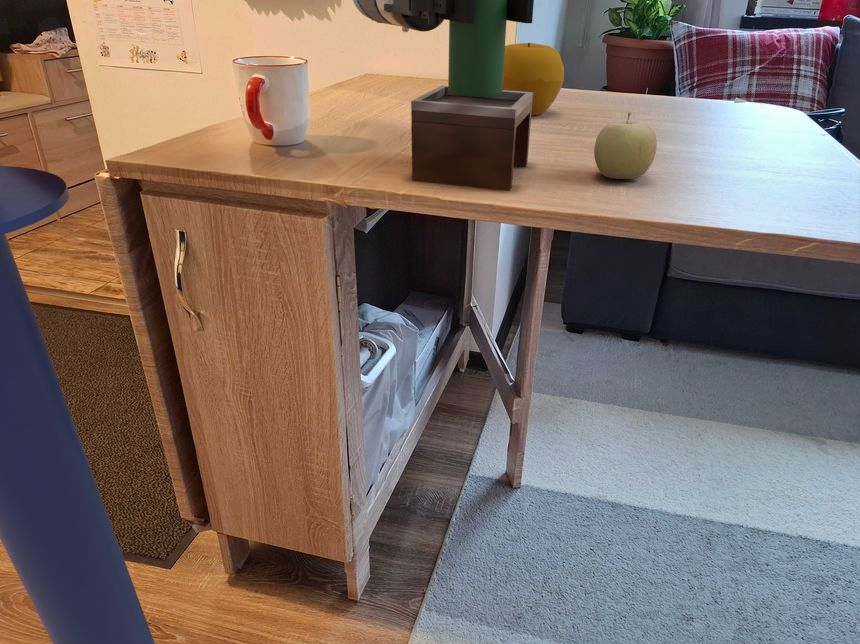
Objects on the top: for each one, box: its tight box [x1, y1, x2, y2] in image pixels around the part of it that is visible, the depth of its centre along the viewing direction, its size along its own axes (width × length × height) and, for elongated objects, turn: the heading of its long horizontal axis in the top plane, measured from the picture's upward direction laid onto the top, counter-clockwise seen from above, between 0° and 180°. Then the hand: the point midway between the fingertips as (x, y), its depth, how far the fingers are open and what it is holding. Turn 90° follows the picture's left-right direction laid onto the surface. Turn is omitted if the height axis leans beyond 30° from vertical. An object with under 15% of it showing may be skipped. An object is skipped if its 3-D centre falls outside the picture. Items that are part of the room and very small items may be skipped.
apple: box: [503, 42, 565, 117], centre depth 111 cm, size 13×13×11 cm
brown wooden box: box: [410, 85, 533, 192], centre depth 77 cm, size 12×12×9 cm
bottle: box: [447, 0, 508, 97], centre depth 70 cm, size 6×6×18 cm
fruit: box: [593, 111, 658, 180], centre depth 78 cm, size 8×7×8 cm
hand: (501, 8), depth 66 cm, fingers closed on bottle, 6 cm apart
